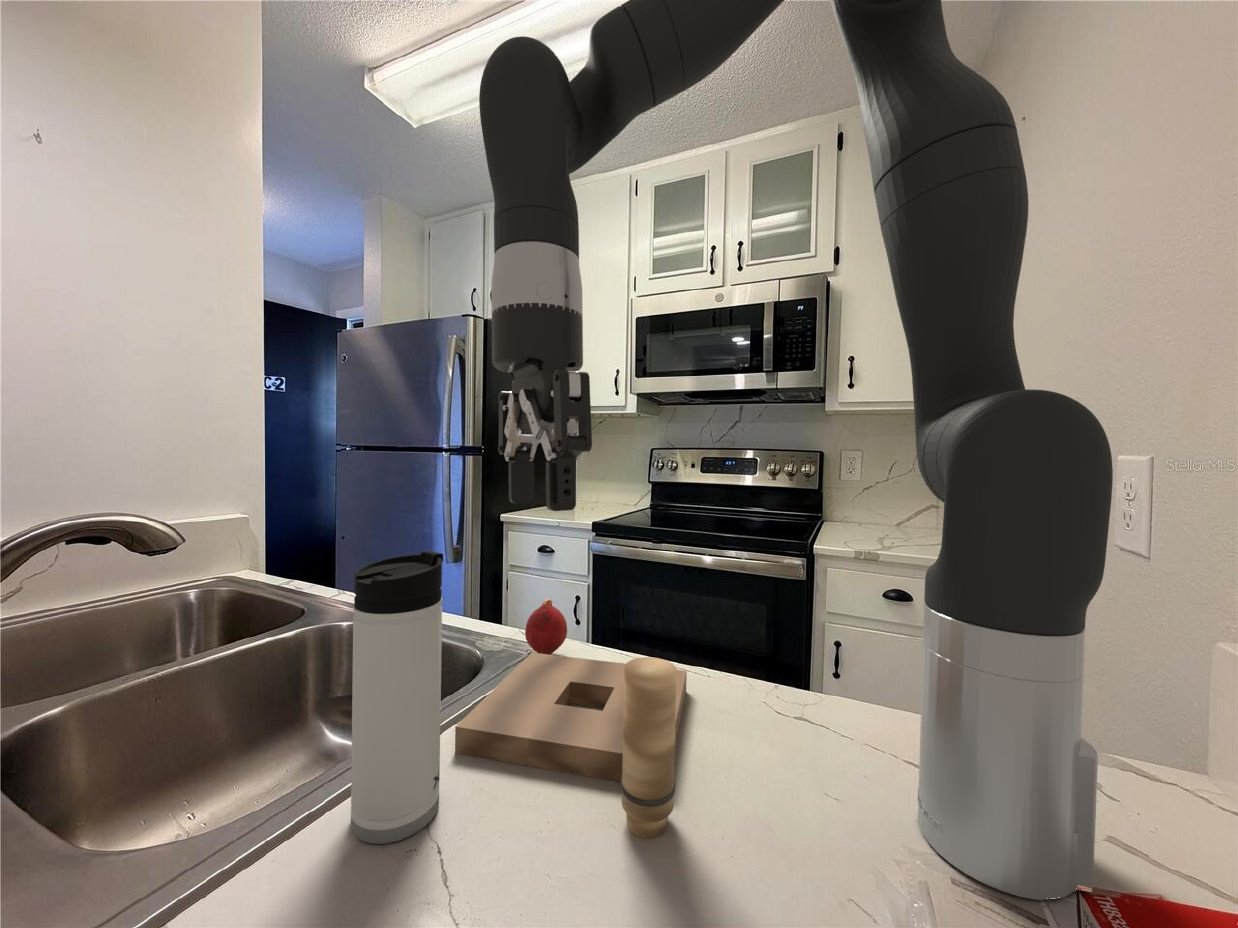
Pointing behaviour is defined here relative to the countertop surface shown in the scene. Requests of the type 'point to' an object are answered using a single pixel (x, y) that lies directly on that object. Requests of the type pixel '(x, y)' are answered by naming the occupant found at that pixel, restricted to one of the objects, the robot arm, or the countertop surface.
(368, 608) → the travel mug
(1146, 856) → the countertop surface
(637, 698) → the oak peg
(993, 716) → the robot arm
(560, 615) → the red egg-shaped piece
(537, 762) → the walnut board
